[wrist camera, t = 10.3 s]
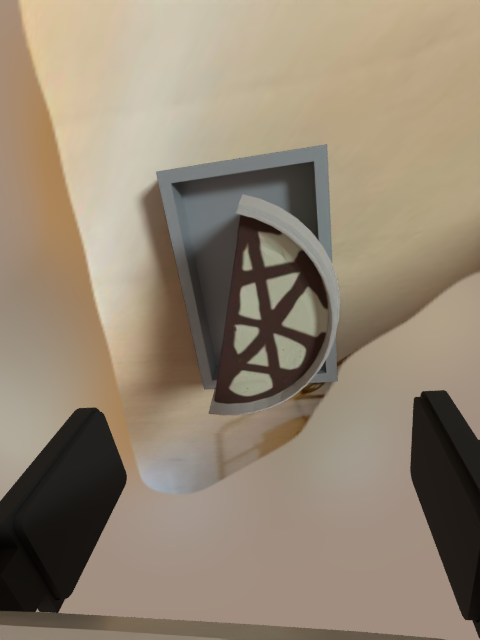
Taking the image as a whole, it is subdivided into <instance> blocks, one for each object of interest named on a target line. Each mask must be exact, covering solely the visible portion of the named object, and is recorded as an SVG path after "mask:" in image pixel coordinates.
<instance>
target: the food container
mask: <svg viewBox="0 0 480 640" xmlns="http://www.w3.org/2000/svg"><path fill="white" fill-rule="evenodd" d="M236 214H240V215H241V216H240V220H239V226H238V230H237V245H236V251H235V258H234V265H233V272H232V279H231V286H230V293H229V300H228V307H227V313H226V318H225V319H226V320H225V327H224V335H223V342H222V349H221V355H220V362H219V369H218V376H217V383H216V387H215V391H214V395H213V398H212V402H211V406H210V410H209V414H217V415H243V414H251V413H256V412H259V411H263V410H267V409H270V408H272V407H274V406H276V405H279V404H281V403H283V402H285V401H286V400H288V399H290V398H291V397H293V396H294V395H296V394H297V393H298V392H299V391H300V390H302V389H303V388H304V387H305V386H306V385H307V384H308V383H309V382H310V381H311V380H312V378H313V377H314V376H315V375H316V374H317V372H318V371H319V370H320V369H321V367H322V366H323V364H324V362H325V361H326V359H327V357H328V356H329V353H330V351H331V348H332V345H333V343H334V340H335V335H336V330H337V325H338V320H339V315H340V293H339V286H338V280H337V277H336V274H335V271H334V268H333V265H332V262H331V260H330V258H329V257H328V255H327V253H326V251H325V249H324V248H323V246H322V244H321V243H320V242H319V241H318V239H317V238H316V237H315V236H314V234H313V233H312V232H311V231H310V230H309V229H308V228H307V227H306V226H305V225H304V224H303V223H301V222H300V221H299V220H298V219H297V218H296V217H294V216H293V215H291V214H290V213H288V212H286V211H285V210H283V209H282V208H280V207H278V206H276V205H274V204H271V203H269V202H267V201H265V200H262V199H259V198H256V197H252V196H248V195H244V194H243V195H242V197H241V199H240V202H239V205H238V210H237V211H236Z"/></svg>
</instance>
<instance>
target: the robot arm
mask: <svg viewBox="0 0 480 640" xmlns="http://www.w3.org/2000/svg"><path fill="white" fill-rule="evenodd" d="M413 408H414V409H413V427H412V447H411V467H410V468H411V477H412V481H413V485H414V487H415V490H416V493H417V495H418V498H419V501H420V503H421V506H422V509H423V512H424V514H425V517H426V520H427V522H428V525H429V528H430V530H431V533H432V536H433V539H434V541H435V544H436V547H437V549H438V552H439V555H440V557H441V560H442V563H443V566H444V568H445V571H446V573H447V576H448V579H449V582H450V584H451V587H452V590H453V592H454V595H455V598H456V601H457V603H458V606H459V609H460V611H461V614H462V616H463V617H464V619H465V620H473V623H474V626H475V628H476V631H477V633H478V636H479V638H480V440H478V439H477V437H476V436H475V435H474V433H473V432H472V430H471V428H470V427H469V426H468V424H467V422H466V421H465V419H464V418H463V416H462V415H461V413H460V411H459V410H458V408H457V407H456V405H455V404H454V402H453V401H452V399H451V398H450V396H449V395H448V393H447V392H446V391H444V390H441V391H423V392H422V393H421V397H415V398H414V407H413ZM126 480H127V475H126V471H125V469H124V466H123V463H122V460H121V458H120V455H119V453H118V450H117V447H116V445H115V442H114V439H113V437H112V434H111V431H110V429H109V426H108V423H107V421H106V418H105V416H104V414H103V413H102V412H100V411H99V410H98V409H97V408H79V409H77V410H76V411H74V413H73V414H72V415H71V416H70V417H69V419H68V420H67V421H66V422H65V424H64V425H63V426H62V427H61V428H60V430H59V431H58V432H57V433H56V435H55V436H54V437H53V438H52V439H51V440H50V442H49V443H48V444H47V445H46V447H45V448H44V449H43V450H42V451H41V453H40V454H39V455H38V456H37V457H36V459H35V460H34V461H33V462H32V464H31V465H30V466H29V467H28V468H27V469H26V471H25V472H24V473H23V474H22V476H21V477H20V478H19V479H18V480H17V482H16V483H15V484H14V485H13V486H12V488H11V489H10V490H9V491H8V493H7V494H6V495H5V496H4V497H3V499H2V500H1V501H0V640H443V639H437V638H426V637H415V636H403V635H391V634H378V633H368V632H356V631H341V630H326V629H310V628H296V627H280V626H266V625H250V624H233V623H219V622H202V621H186V620H169V619H152V618H136V617H118V616H100V615H81V614H62V613H58V612H59V610H60V608H61V606H62V604H63V602H64V600H65V599H66V598H68V597H69V596H70V595H71V594H72V592H73V590H74V588H75V586H76V584H77V582H78V580H79V578H80V576H81V574H82V572H83V570H84V568H85V566H86V564H87V562H88V560H89V558H90V556H91V554H92V552H93V549H94V548H95V546H96V544H97V541H98V539H99V537H100V535H101V533H102V531H103V529H104V527H105V525H106V523H107V521H108V519H109V517H110V515H111V513H112V511H113V509H114V507H115V505H116V503H117V501H118V499H119V497H120V495H121V493H122V491H123V489H124V487H125V484H126ZM37 608H38V610H39V611H40V612H36V610H37ZM44 612H52V613H44Z"/></svg>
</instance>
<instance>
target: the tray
mask: <svg viewBox="0 0 480 640" xmlns="http://www.w3.org/2000/svg"><path fill="white" fill-rule="evenodd" d="M156 174H157V179H158V183H159V188H160V192H161V197H162V201H163V206H164V210H165V215H166V219H167V224H168V228H169V233H170V238H171V242H172V247H173V251H174V256H175V260H176V265H177V269H178V274H179V278H180V283H181V287H182V292H183V296H184V301H185V305H186V310H187V314H188V319H189V323H190V328H191V332H192V337H193V341H194V346H195V350H196V355H197V359H198V364H199V368H200V373H201V377H202V382H203V386H204V389H215V387H216V383H217V376H218V369H219V362H220V355H221V349H222V342H223V335H224V327H225V320H226V319H225V318H226V313H227V307H228V300H229V293H230V286H231V279H232V272H233V265H234V258H235V251H236V245H237V230H238V226H239V220H240V216H241V215H240V214H236V211H237V210H238V205H239V202H240V199H241V197H242V195H243V194H244V195H248V196H252V197H256V198H259V199H262V200H265V201H267V202H269V203H271V204H274V205H276V206H278V207H280V208H282V209H283V210H285V211H286V212H288V213H290V214H291V215H293V216H294V217H296V218H297V219H298V220H299V221H300V222H301V223H303V224H304V225H305V226H306V227H307V228H308V229H309V230H310V231H311V232H312V233H313V234H314V236H315V237H316V238H317V239H318V241H319V242H320V243H321V244H322V246H323V248H324V249H325V251H326V253H327V255H328V257H329V258H330V260H331V262H332V243H331V221H330V198H329V175H328V153H327V144H326V145H320V146H314V147H307V148H301V149H295V150H289V151H282V152H276V153H270V154H264V155H258V156H251V157H245V158H239V159H233V160H226V161H220V162H214V163H208V164H201V165H195V166H189V167H183V168H176V169H170V170H164V171H158V172H156ZM337 380H338V379H337V356H336V335H335V340H334V343H333V345H332V348H331V351H330V353H329V356H328V357H327V359H326V361H325V362H324V364H323V366H322V367H321V369H320V370H319V371H318V372H317V374H316V375H315V376H314V377H313V378H312V380H311V381H310V382H309V383H318V382H334V381H337Z"/></svg>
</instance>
